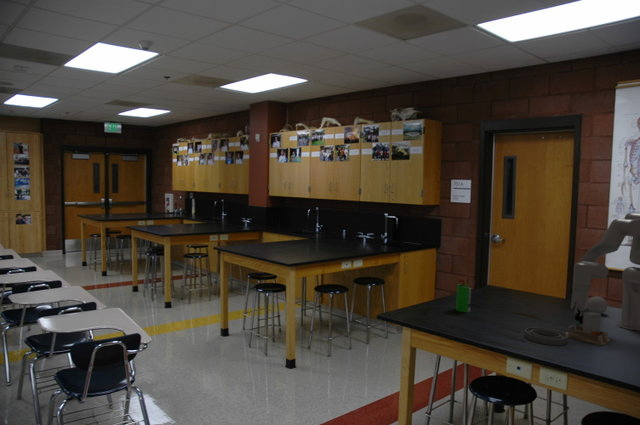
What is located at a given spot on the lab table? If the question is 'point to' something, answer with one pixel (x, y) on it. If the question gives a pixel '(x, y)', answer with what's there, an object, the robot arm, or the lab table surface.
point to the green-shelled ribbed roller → (463, 297)
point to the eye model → (597, 304)
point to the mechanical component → (537, 333)
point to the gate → (573, 327)
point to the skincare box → (592, 323)
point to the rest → (588, 336)
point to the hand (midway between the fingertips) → (578, 323)
